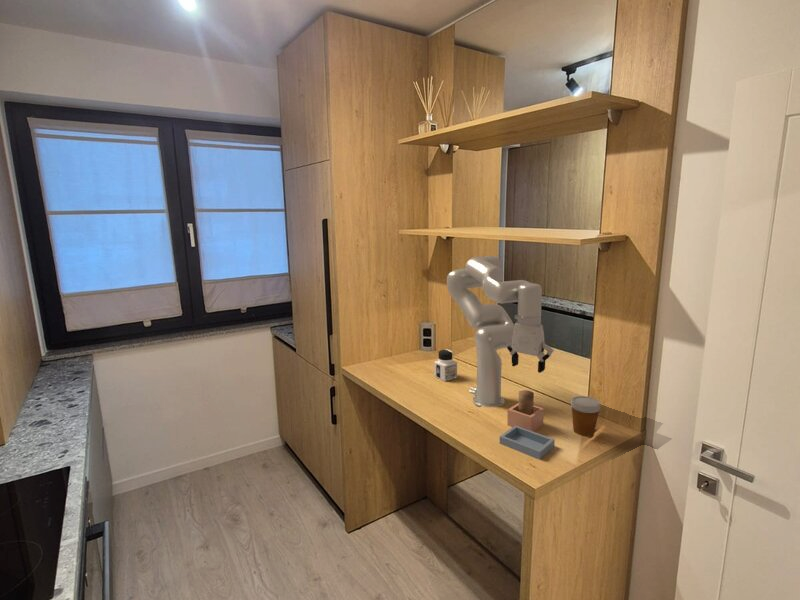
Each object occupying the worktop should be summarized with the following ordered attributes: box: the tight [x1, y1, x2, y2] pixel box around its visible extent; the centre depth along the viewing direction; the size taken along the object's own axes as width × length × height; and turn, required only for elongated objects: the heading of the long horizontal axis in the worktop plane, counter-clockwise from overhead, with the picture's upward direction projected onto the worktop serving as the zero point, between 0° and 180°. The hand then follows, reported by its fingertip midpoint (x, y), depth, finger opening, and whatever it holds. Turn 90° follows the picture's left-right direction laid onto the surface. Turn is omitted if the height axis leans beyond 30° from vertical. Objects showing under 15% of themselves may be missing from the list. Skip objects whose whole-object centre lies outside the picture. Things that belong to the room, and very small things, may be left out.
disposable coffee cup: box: [570, 395, 602, 439], centre depth 146 cm, size 10×10×12 cm
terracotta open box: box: [507, 402, 545, 432], centre depth 152 cm, size 9×9×7 cm
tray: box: [499, 425, 556, 460], centre depth 139 cm, size 14×10×4 cm
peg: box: [518, 389, 535, 415], centre depth 151 cm, size 5×5×12 cm
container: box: [433, 348, 458, 382], centre depth 200 cm, size 8×8×13 cm
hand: (527, 368), depth 148 cm, fingers open, 9 cm apart
